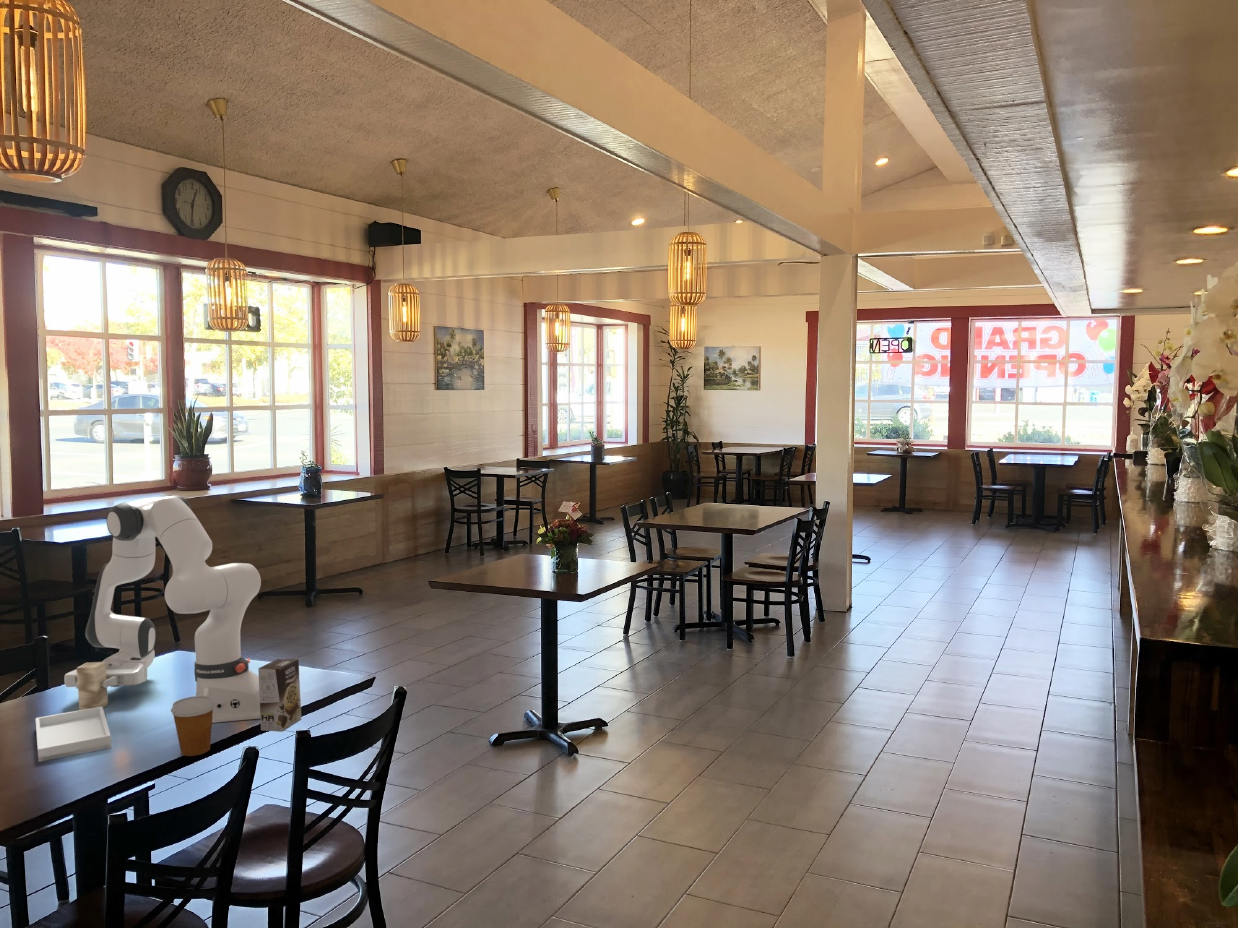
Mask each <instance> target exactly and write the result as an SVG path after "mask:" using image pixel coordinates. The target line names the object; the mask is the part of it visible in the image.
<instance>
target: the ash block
mask: <svg viewBox="0 0 1238 928" xmlns="http://www.w3.org/2000/svg"><path fill="white" fill-rule="evenodd" d="M76 669H77V681H78V689H77V693H78V708H79V710H84V709H90V708H95V707H101V706H102V707H103V708H105V707H106V706H108V705H109V700H108V687H107V688H100V682H101V681H102V680H106V668H105V662H102V661H95V662H94V661H93V662H92V661H90V662H85V663H83V664H82V665H79V666H77V667H76Z"/></svg>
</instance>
